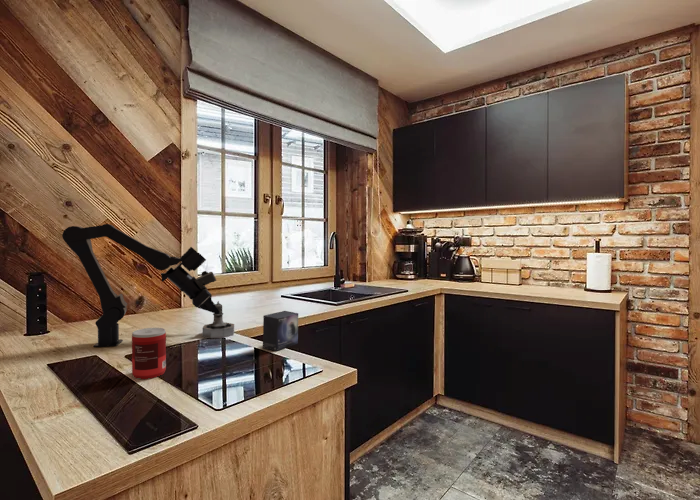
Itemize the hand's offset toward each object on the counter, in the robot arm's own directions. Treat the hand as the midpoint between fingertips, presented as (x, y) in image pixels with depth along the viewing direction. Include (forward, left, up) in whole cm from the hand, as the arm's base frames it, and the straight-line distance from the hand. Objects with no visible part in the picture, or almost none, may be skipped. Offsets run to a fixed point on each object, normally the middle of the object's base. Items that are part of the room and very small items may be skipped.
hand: (217, 310), depth 137 cm
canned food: (-38, +13, -9) cm, 41 cm away
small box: (-19, -21, -9) cm, 30 cm away
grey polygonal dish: (0, 0, -8) cm, 9 cm away
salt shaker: (0, 0, -9) cm, 9 cm away
